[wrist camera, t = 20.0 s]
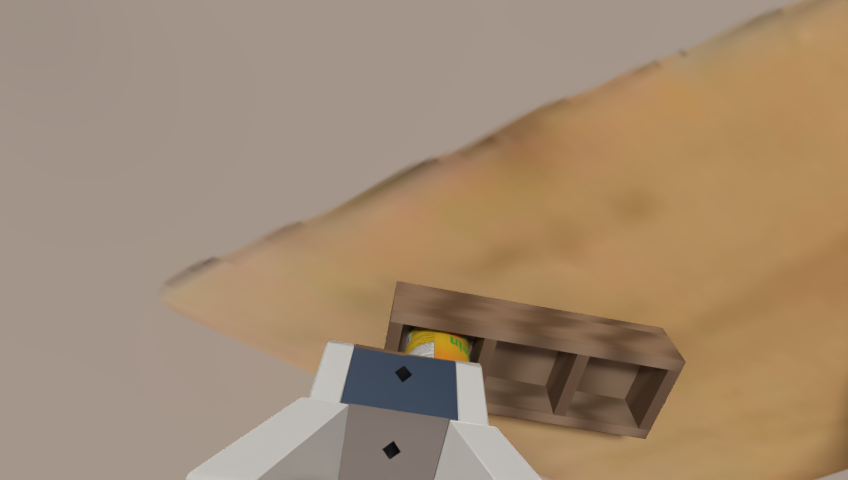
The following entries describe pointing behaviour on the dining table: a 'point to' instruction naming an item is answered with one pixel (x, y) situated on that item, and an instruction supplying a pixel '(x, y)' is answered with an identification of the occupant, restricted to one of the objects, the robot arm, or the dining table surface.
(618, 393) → the box
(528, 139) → the dining table surface
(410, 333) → the supplement bottle
